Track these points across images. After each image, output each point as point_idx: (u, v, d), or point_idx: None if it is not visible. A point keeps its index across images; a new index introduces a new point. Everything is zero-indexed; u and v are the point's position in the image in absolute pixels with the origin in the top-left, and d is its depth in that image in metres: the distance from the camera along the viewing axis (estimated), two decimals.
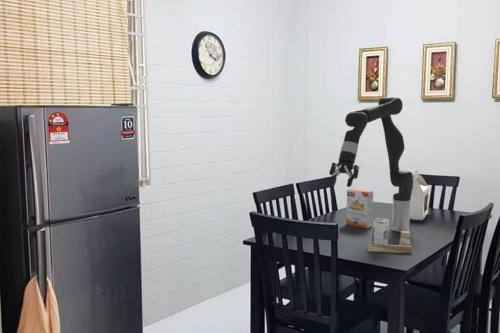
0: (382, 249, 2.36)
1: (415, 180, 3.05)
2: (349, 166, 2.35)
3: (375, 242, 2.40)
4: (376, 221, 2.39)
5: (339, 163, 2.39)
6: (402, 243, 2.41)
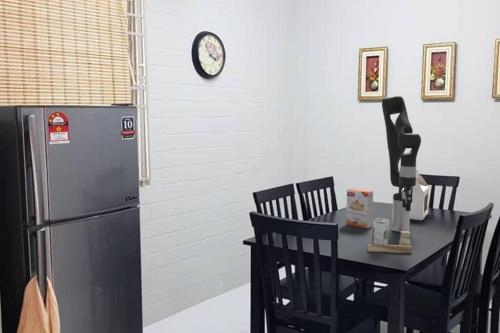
0: (382, 249, 2.36)
1: None
2: None
3: (375, 242, 2.40)
4: (376, 221, 2.39)
5: (410, 189, 2.36)
6: (402, 243, 2.41)
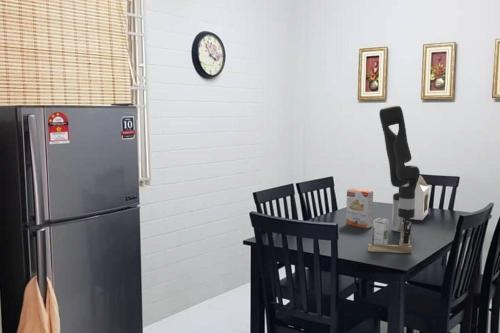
0: (382, 249, 2.36)
1: None
2: None
3: (375, 242, 2.40)
4: (376, 221, 2.39)
5: (409, 220, 2.38)
6: (402, 243, 2.41)
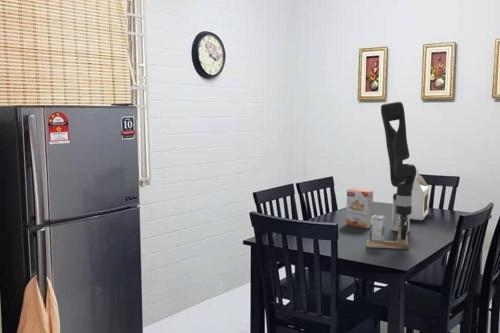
0: (380, 245, 2.43)
1: (415, 180, 3.05)
2: None
3: (373, 239, 2.46)
4: (374, 218, 2.45)
5: (406, 217, 2.45)
6: (399, 239, 2.48)
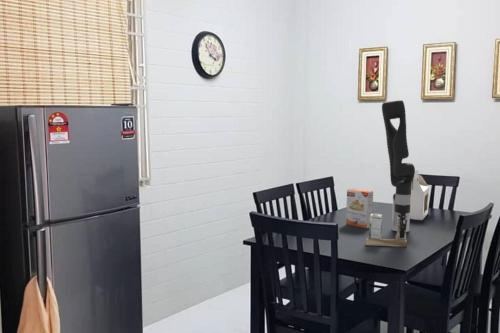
0: (379, 243, 2.47)
1: (415, 180, 3.05)
2: None
3: (372, 237, 2.49)
4: (373, 217, 2.48)
5: (405, 215, 2.48)
6: (398, 237, 2.52)
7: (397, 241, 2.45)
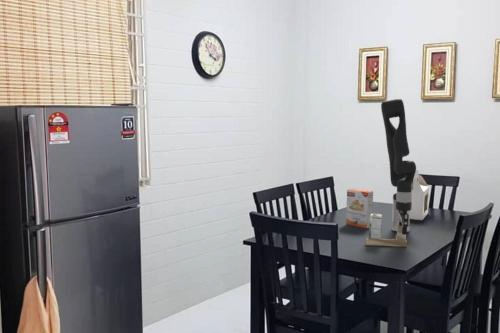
0: (379, 243, 2.47)
1: (415, 180, 3.05)
2: None
3: (372, 237, 2.49)
4: (373, 217, 2.48)
5: (406, 213, 2.49)
6: (398, 237, 2.52)
7: (397, 241, 2.46)
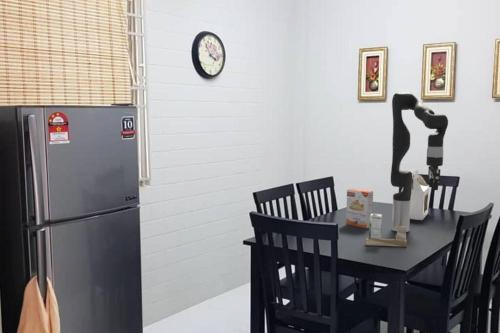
0: (379, 243, 2.47)
1: (415, 180, 3.05)
2: None
3: (372, 237, 2.49)
4: (373, 217, 2.48)
5: None
6: (398, 237, 2.52)
7: (397, 241, 2.46)
